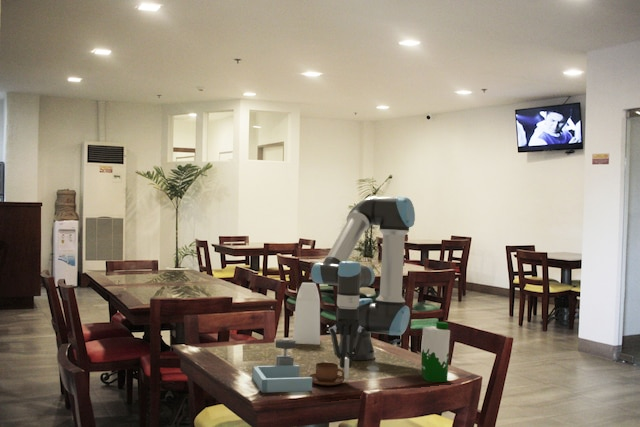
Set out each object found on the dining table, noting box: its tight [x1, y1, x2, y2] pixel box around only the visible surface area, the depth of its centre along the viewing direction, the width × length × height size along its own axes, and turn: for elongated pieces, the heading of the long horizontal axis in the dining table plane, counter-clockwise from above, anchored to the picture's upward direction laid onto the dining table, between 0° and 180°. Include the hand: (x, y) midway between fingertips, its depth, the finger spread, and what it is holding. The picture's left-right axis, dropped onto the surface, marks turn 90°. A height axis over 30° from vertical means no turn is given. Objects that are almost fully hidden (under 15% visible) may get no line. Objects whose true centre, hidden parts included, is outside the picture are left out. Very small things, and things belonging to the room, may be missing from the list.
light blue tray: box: [251, 354, 313, 394], centre depth 210 cm, size 16×24×6 cm, turn 16°
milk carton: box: [420, 321, 451, 383], centre depth 222 cm, size 9×9×20 cm
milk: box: [292, 282, 321, 345], centre depth 281 cm, size 12×12×26 cm
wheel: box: [275, 338, 297, 356], centre depth 220 cm, size 7×7×6 cm
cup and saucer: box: [308, 362, 345, 387], centre depth 210 cm, size 12×12×6 cm
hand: (345, 377), depth 212 cm, fingers closed
